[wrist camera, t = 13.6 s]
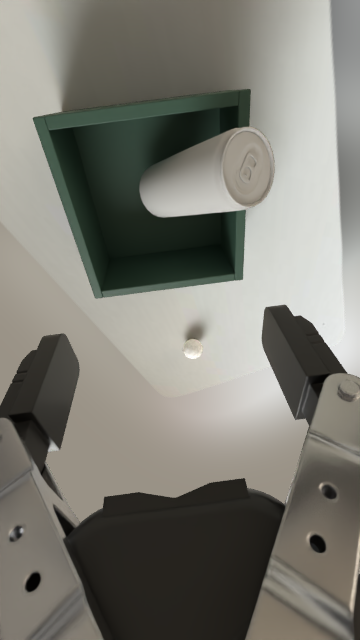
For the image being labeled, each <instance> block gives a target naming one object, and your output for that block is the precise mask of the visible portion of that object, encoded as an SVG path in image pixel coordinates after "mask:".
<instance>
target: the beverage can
mask: <svg viewBox="0 0 360 640" xmlns="http://www.w3.org/2000/svg"><path fill="white" fill-rule="evenodd" d="M274 171H275V167H274V156H273V151H272V149H271V146H270V143H269V141H268V140H267V138H266V137H265V135H264V134H263V133H262V132H260V131H259V130H258V129H256V128H253V127H242V128H234V129H231V130H229V131H227V132H224V133H222V134H220V135H218V136H215V137H213V138H211V139H208V140H206V141H204V142H202V143H199V144H197V145H195V146H193V147H190V148H188V149H186V150H184V151H182V152H179V153H177V154H175V155H173V156H171V157H169V158H167V159H165V160H162V161H160V162H158V163H156V164H154V165H151V166H150V167H149V168H147V169H146V170H145V172H144V173H143V175H142V177H141V180H140V187H139V191H140V196H141V199H142V202H143V204H144V205H145V207H146V208H147V210H148V211H150V212H151V213H152V214H153V215H156V216H158V217H163V218H165V217H176V216H187V215H198V214H208V213H219V212H230V211H240V210H245V209H248V208H250V207H254V206H256V205H258V204H259V203H261V202H262V201H263V200H264V199H265V198H266V196H267V194H268V193H269V191H270V189H271V186H272V183H273V178H274Z"/></svg>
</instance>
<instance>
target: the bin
mask: <svg viewBox="0 0 360 640" xmlns="http://www.w3.org/2000/svg"><path fill="white" fill-rule="evenodd" d="M250 94H251V90H250V89H244V90H226V91H218V92H210V93H203V94H195V95H188V96H180V97H172V98H165V99H157V100H149V101H142V102H134V103H126V104H119V105H111V106H103V107H96V108H88V109H80V110H73V111H65V112H59V113H54V114H49V115H43V116H38V117H33V121H34V124H35V127H36V130H37V132H38V135H39V138H40V141H41V144H42V147H43V150H44V153H45V155H46V158H47V161H48V164H49V167H50V170H51V173H52V176H53V178H54V181H55V184H56V187H57V190H58V193H59V196H60V198H61V201H62V204H63V207H64V210H65V213H66V216H67V219H68V221H69V224H70V227H71V230H72V233H73V236H74V239H75V242H76V244H77V247H78V250H79V253H80V256H81V259H82V262H83V264H84V267H85V270H86V273H87V276H88V279H89V282H90V285H91V287H92V290H93V293H94V296H95V298H103V297H111V296H119V295H127V294H134V293H142V292H150V291H157V290H165V289H173V288H181V287H188V286H196V285H204V284H211V283H219V282H227V281H234V280H243V262H244V238H245V214H246V209H245V210H240V211H230V212H219V213H208V214H198V215H187V216H176V217H165V218H163V217H158V216H156V215H153V214H152V213H151V212H150V211H148V210H147V208H146V207H145V205H144V204H143V202H142V199H141V196H140V191H139V187H140V180H141V177H142V175H143V173H144V172H145V170H146V169H147V168H149V167H150V166H151V165H154V164H156V163H158V162H160V161H162V160H165V159H167V158H169V157H171V156H173V155H175V154H177V153H179V152H182V151H184V150H186V149H188V148H190V147H193V146H195V145H197V144H199V143H202V142H204V141H206V140H208V139H211V138H213V137H215V136H218V135H220V134H222V133H224V132H227V131H229V130H231V129H234V128H242V127H249V118H250Z"/></svg>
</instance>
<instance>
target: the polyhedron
mask: <svg viewBox="0 0 360 640" xmlns="http://www.w3.org/2000/svg"><path fill="white" fill-rule="evenodd" d="M202 350H203V346H202V345H201V343H200V342H199V341H198V340H197V339H190V340H188V341H186V342H185V344H184V347H183V352H184V354H185V356H187V357H188V358H192V359H195V358H198V357H199V356H200V355H201V354H202Z"/></svg>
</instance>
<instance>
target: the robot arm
mask: <svg viewBox="0 0 360 640" xmlns="http://www.w3.org/2000/svg"><path fill="white" fill-rule="evenodd" d="M262 344H263V348H264V351H265V353H266V356H267V358H268V360H269V362H270V365H271V367H272V369H273V371H274V373H275V376H276V378H277V380H278V382H279V384H280V387H281V389H282V391H283V394H284V396H285V398H286V400H287V403H288V405H289V407H290V409H291V412H292V414H293V416H294V418H295V420H297V419H305V418H306V420H307V422H308V424H309V429H308V432H307V435H306V438H305V441H304V444H303V448H302V451H301V454H300V457H299V460H298V464H297V468H296V470H295V473H294V477H293V480H292V483H291V486H290V489H289V492H288V495H287V498H286V502H285V504H283V503H282V502H280V501H279V500H277V499H275V498H274V497H272V496H270V495H268V494H266V493H264V492H261V491H258V490H254V489H249V488H247V486H246V482H245V479H244V478H243V479H235V480H229V481H220V482H213V483H209V484H207V485H204V486H202V487H200V488H198V489H195V490H193V491H191V492H188V493H186V494H184V495H182V496H179V497H177V498H170V497H164V496H158V495H152V494H145V493H140V492H138V493H130V494H123V495H115V496H108V497H104V504H103V508H102V509H100V510H98V511H97V512H95V513H93V514H92V515H90V516H89V517H87V518H86V519H85V520H83V521H82V522H81V523H80V521H79V520H78V518H77V517H76V515H75V514H74V512H73V511H72V510H71V508H70V506H69V505H68V503H67V501H66V499H65V497H64V495H63V493H62V491H61V489H60V487H59V485H58V484H57V482H56V480H55V478H54V476H53V474H52V472H51V470H50V468H49V466H48V464H47V463H46V462H45V460H46V457H47V453H48V452H49V451H57V450H60V448H61V444H62V440H63V436H64V432H65V428H66V424H67V420H68V416H69V412H70V408H71V404H72V400H73V397H74V393H75V389H76V385H77V380H78V376H79V362H78V360H77V357H76V355H75V353H74V351H73V349H72V347H71V344H70V342H69V340H68V338H67V336H66V335H65V334H56V335H48V336H44V337H43V338H42V339H41V341H40V344H39V346H38V348H37V350H33V351H31V352H30V353H29V354H28V355H27V356H26V357H25V358H24V359H23V360H22V362H21V364H20V366H19V368H18V370H17V374H16V375H15V376H14V379H13V380H12V384H11V385H10V387H9V389H8V391H7V393H6V395H5V397H4V399H3V401H2V403H1V405H0V640H360V574H359V567H360V378H359V377H357V376H354V375H351V374H347V372H346V371H345V369H344V368H343V367H342V365H341V364H340V362H339V361H338V360H337V358H336V357H335V355H334V354H333V352H332V351H331V350H330V348H329V347H328V345H327V344H326V343H324V340H323V338H322V337H321V336H320V335H319V334H318V331H317V330H316V329H315V327H314V326H313V324H312V323H311V322H309V321H308V320H306V319H305V318H303V317H302V316H293V314H292V313H291V311H290V310H289V308H288V307H287V306H286V305H279V306H271V307H266V308H265V311H264V320H263V329H262Z"/></svg>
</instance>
